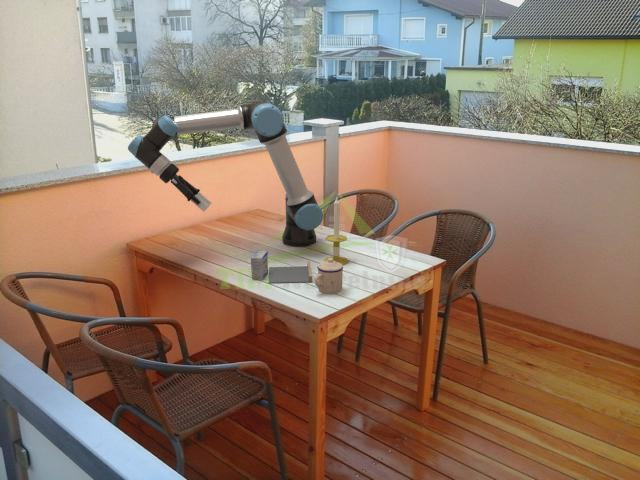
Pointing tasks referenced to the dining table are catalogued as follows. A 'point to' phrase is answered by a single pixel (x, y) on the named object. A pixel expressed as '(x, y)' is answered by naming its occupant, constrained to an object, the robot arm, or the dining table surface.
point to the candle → (337, 237)
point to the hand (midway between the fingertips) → (208, 207)
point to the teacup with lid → (329, 277)
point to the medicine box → (259, 265)
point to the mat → (290, 274)
